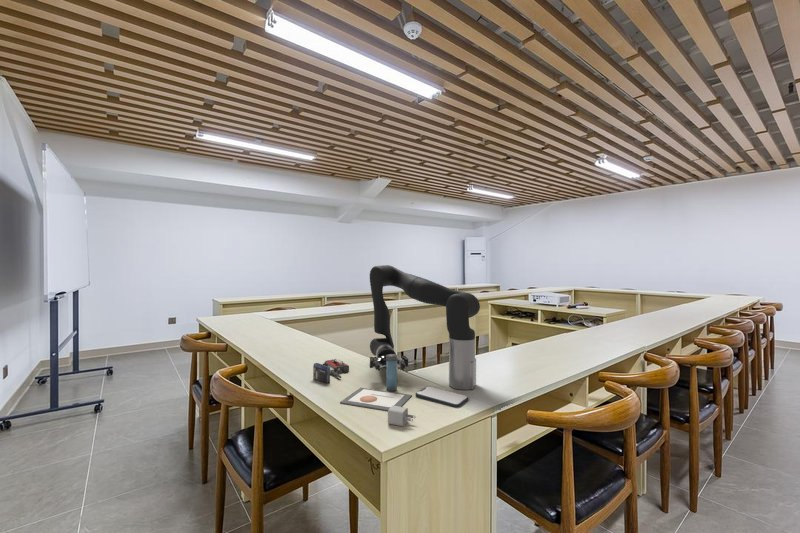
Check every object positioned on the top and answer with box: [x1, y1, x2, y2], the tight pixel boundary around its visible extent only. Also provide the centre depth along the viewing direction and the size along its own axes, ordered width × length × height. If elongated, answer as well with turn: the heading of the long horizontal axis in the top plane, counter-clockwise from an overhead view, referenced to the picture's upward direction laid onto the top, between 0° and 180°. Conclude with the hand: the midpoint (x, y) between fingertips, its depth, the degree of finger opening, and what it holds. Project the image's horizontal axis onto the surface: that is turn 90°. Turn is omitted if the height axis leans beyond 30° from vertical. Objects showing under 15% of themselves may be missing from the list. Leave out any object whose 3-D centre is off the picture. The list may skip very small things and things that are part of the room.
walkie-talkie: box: [322, 358, 350, 379], centre depth 144 cm, size 9×4×20 cm
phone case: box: [415, 386, 470, 409], centre depth 116 cm, size 9×2×16 cm
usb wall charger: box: [387, 406, 416, 427], centre depth 98 cm, size 4×7×4 cm, turn 67°
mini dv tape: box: [312, 362, 331, 385], centre depth 133 cm, size 8×2×6 cm, turn 49°
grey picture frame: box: [339, 387, 413, 412], centre depth 115 cm, size 19×14×1 cm
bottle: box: [385, 354, 398, 392], centre depth 124 cm, size 4×4×12 cm
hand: (390, 367), depth 125 cm, fingers open, 8 cm apart
